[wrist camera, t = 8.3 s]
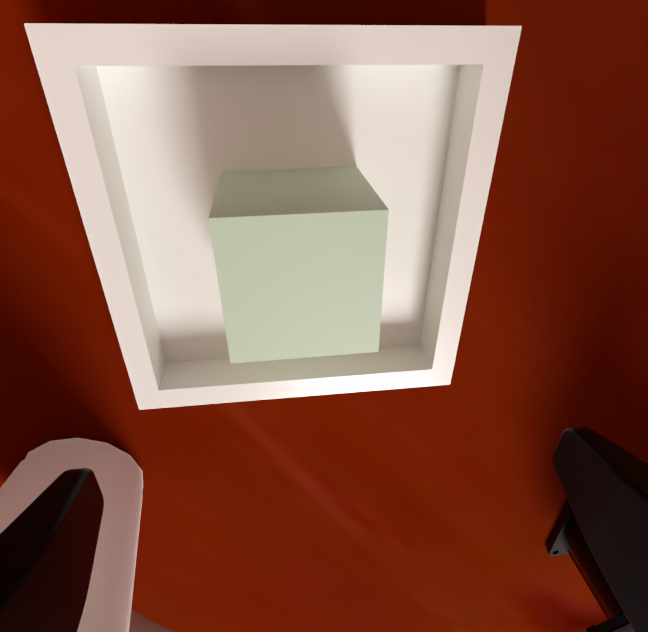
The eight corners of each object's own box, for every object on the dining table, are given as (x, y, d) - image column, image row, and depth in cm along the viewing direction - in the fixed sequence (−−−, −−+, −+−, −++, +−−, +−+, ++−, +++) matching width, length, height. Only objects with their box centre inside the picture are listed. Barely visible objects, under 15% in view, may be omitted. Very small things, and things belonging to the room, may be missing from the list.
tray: (432, 352, 23) (450, 384, 21) (151, 373, 21) (139, 409, 19) (486, 27, 15) (522, 25, 13) (59, 25, 14) (23, 23, 12)
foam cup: (79, 547, 28) (-38, 878, 17) (-56, 467, 23) (-343, 858, 12) (205, 487, 26) (166, 809, 15) (89, 388, 21) (-89, 754, 10)
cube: (352, 283, 19) (378, 351, 15) (237, 291, 19) (230, 363, 15) (356, 166, 17) (388, 209, 13) (221, 171, 16) (208, 218, 12)
